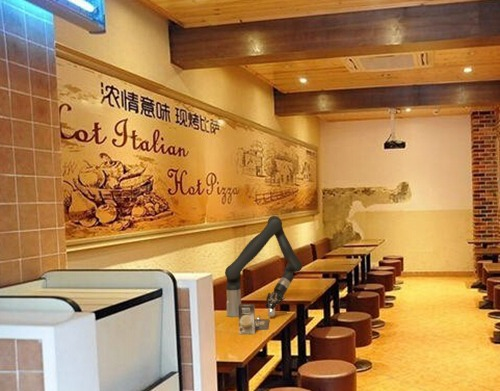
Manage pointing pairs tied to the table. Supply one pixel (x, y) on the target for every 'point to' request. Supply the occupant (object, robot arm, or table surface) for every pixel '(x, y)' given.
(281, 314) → the table surface
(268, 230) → the robot arm
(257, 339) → the table surface
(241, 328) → the coffee box
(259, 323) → the plate
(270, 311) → the ball-topped cylinder
